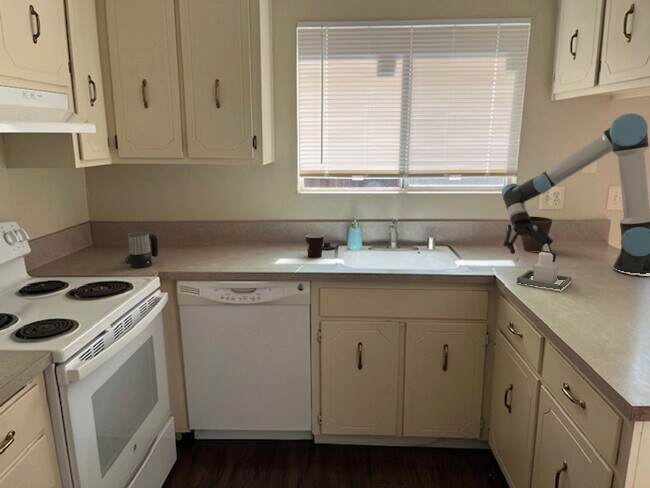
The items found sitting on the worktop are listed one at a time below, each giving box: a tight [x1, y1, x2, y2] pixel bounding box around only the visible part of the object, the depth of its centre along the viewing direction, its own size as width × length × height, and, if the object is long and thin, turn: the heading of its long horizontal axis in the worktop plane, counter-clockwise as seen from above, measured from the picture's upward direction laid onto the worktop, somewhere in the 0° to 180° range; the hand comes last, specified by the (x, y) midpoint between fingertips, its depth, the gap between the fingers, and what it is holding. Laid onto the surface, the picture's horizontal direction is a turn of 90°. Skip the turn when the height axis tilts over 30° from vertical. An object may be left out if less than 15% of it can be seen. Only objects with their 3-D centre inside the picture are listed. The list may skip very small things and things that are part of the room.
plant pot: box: [520, 215, 553, 252], centre depth 240 cm, size 15×15×16 cm
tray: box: [516, 269, 573, 290], centre depth 188 cm, size 16×14×2 cm
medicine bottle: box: [532, 250, 559, 284], centre depth 187 cm, size 7×7×12 cm
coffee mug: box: [305, 233, 325, 259], centre depth 232 cm, size 12×9×10 cm
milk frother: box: [124, 230, 159, 269], centre depth 218 cm, size 14×16×15 cm
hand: (533, 259), depth 196 cm, fingers open, 13 cm apart
